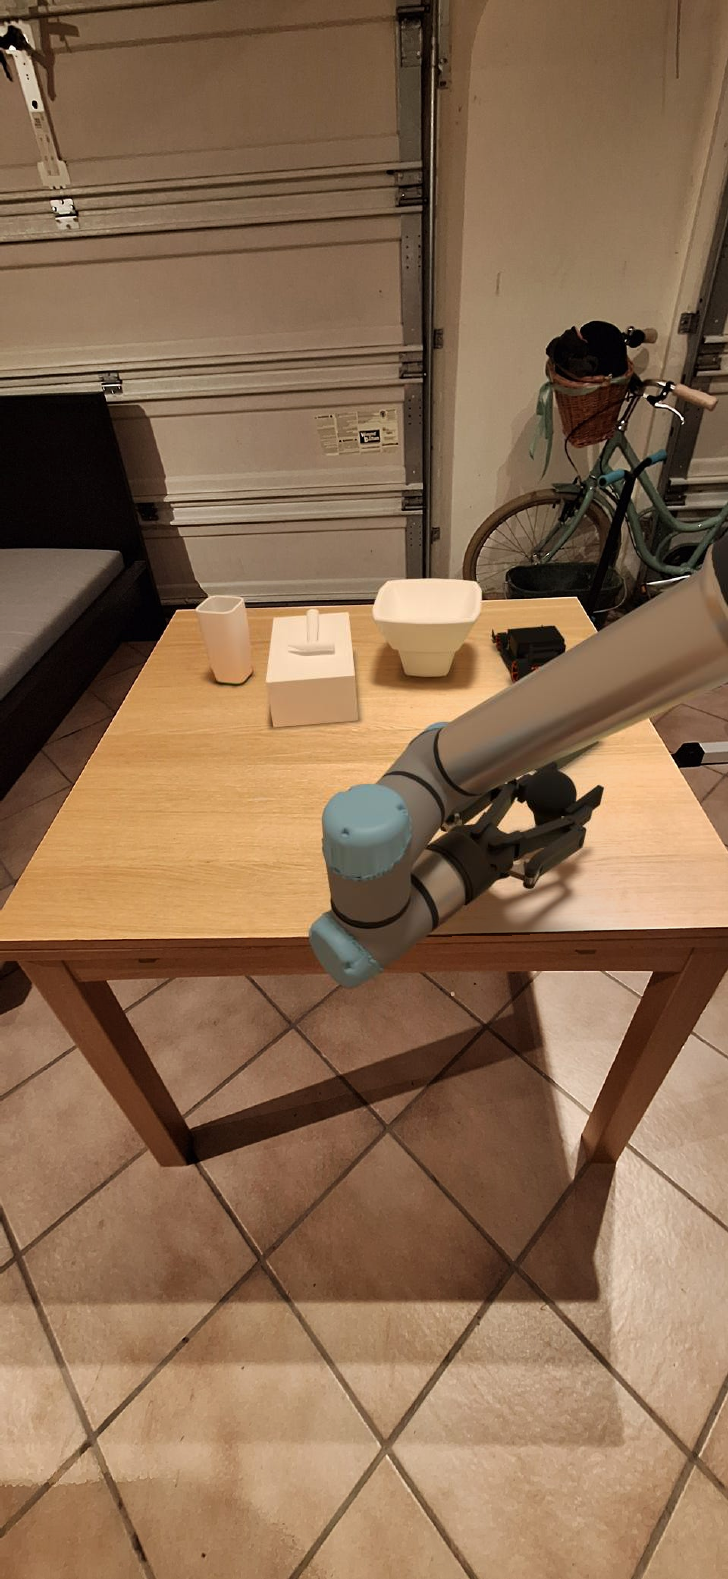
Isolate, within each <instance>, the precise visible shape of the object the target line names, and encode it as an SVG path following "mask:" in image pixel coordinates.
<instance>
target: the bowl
mask: <svg viewBox="0 0 728 1579" xmlns="http://www.w3.org/2000/svg"><path fill="white" fill-rule="evenodd" d="M482 604H483V589H482V588H481V587H480V585H479V583H478V582H477V581H474V580H463V579H453V578H452V579H451V578H405V579H395V580H387V581H386V582H385V583H384V584H383V585H382V586H381V587H380V588H379V589H378V592H377V595H376V597H375V599H374V603H373V606H372V609H371V614H372V617H373V621H374V624H375V625H376V626H377V628H378V630H379V631H380V632H381V634H382V636H383V637H384V639H385V641H387V644H388V645H389V646H390V647H391V649H392V650H397V652H398V656H399V659H400V662H401V665H402V668H403V671H404V674H405V675H406V676H411V677H412V676H413V677H423V678H431V677H433V678H437V677H446V676H447V674H448V673H449V672H450V670H451V666H452V664H453V659H454V656H455V653H456V651H459V650H460V649H461V647H462V645H463V644H464V643H465V641H466V639H467V637H468V636H469V634H470V633H471V631H472V629H473V628H474V627H475V624H476V623H477V621H478V620H479V619H480V617H481V615H482Z"/></svg>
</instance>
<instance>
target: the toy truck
mask: <svg viewBox="0 0 728 1579" xmlns="http://www.w3.org/2000/svg"><path fill="white" fill-rule="evenodd" d="M491 638H492V640H493V641H495V645H496V649H497V650H499V652H500V654H501V656H502V658H503V660H504V662H505V663H506V666H507V668H508V669H509V671H510V673H511V679H512V684H513V683H515V682H517V681H518V680H520V679H522V678H523V677H525V676H527V675H528V674H530V673H532V672H533V671H535V670H536V669H538V668H540V667H541V666H543V665H545V664H546V663H548V662H550V661H551V660H553V659H555V658H556V657H558V656H559V655H561V654H563V653H564V652H566V651H567V645H566V643H565V642H566V639H565V637H564V636H563V635H562V634H561V632H560V631H559V629H558V628H557V626H556V625H543V624H541V626H528V627H516V628H507V629H506V631H502V632H496V634H495V631H494V628H493V629H491Z"/></svg>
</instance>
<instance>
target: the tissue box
mask: <svg viewBox="0 0 728 1579" xmlns="http://www.w3.org/2000/svg"><path fill="white" fill-rule="evenodd" d="M351 632H352V631H351V624H350V612H349V611H345V612H332V613H331V612H330V613H320V611H319V610H318V609H315V608H311V609H308V610H307V611H306V614H305V615H292V616H281V617H273V620H272V628H271V634H270V635H271V636H270V644H269V653H268V661H267V668H266V677H265V686H266V692H267V698H268V704H269V709H270V710H269V711H270V715H271V721H272V727H273V728H282V727H294V726H296V727H297V726H307V725H309V726H310V725H320V724H331V723H333V724H335V723H344V722H346V723H347V722H357V721H359V712H358V700H357V698H358V696H357V686H356V674H355V673H356V672H355V664H354V663H355V662H354V653H353V642H352V633H351Z"/></svg>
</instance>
